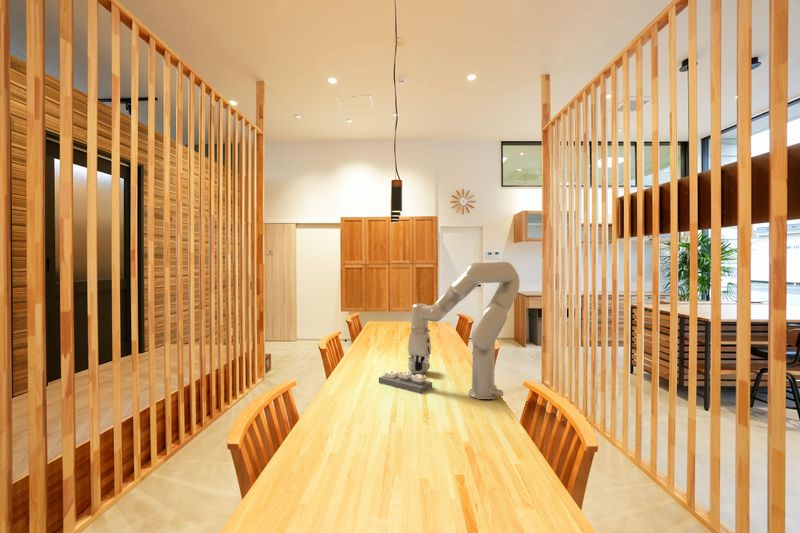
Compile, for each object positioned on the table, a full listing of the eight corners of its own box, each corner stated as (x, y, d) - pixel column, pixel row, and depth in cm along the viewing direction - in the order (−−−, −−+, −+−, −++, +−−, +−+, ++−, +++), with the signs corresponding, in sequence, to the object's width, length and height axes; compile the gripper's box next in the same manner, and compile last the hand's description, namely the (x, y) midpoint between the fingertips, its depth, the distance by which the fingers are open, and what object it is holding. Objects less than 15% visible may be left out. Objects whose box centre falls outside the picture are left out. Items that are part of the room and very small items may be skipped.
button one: (398, 380, 180) (398, 371, 180) (392, 383, 176) (392, 374, 176) (390, 378, 183) (390, 370, 183) (384, 381, 179) (384, 372, 179)
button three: (412, 381, 175) (412, 372, 175) (406, 384, 171) (406, 374, 171) (403, 379, 178) (403, 370, 178) (398, 382, 174) (398, 373, 174)
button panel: (432, 387, 172) (432, 382, 172) (420, 393, 164) (420, 388, 164) (391, 377, 186) (391, 372, 186) (378, 382, 178) (378, 377, 178)
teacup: (404, 371, 196) (404, 356, 196) (422, 369, 201) (422, 354, 201) (416, 379, 184) (416, 363, 184) (435, 376, 188) (435, 360, 188)
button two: (426, 384, 171) (426, 375, 170) (420, 387, 167) (420, 378, 167) (417, 382, 173) (417, 373, 173) (412, 385, 169) (412, 376, 169)
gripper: (437, 331, 168) (436, 371, 169) (410, 327, 177) (409, 365, 177) (429, 333, 162) (428, 375, 163) (401, 329, 171) (400, 368, 171)
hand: (418, 370), depth 170 cm, fingers closed
